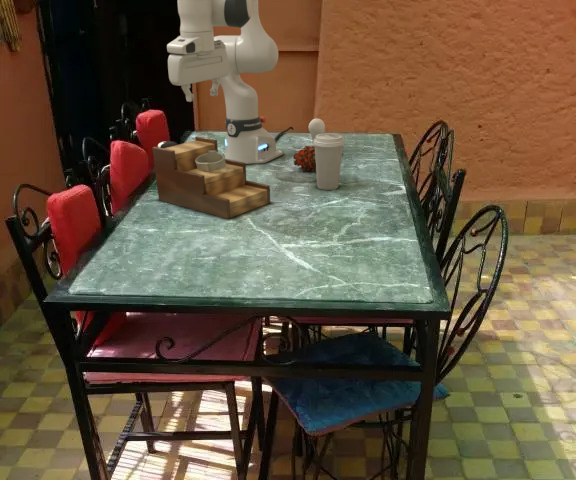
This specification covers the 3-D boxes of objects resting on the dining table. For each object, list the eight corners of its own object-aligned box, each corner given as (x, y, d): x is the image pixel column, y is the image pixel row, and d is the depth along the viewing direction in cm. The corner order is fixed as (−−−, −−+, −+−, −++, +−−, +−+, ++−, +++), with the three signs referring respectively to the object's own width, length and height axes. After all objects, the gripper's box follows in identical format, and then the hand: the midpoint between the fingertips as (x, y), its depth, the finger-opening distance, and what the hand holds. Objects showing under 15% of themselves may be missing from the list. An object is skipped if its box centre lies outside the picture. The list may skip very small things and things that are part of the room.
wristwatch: (230, 168, 182) (229, 150, 180) (219, 174, 178) (218, 155, 175) (203, 165, 186) (201, 147, 183) (191, 170, 181) (189, 152, 178)
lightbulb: (316, 147, 242) (316, 116, 236) (327, 149, 238) (328, 118, 232) (304, 149, 239) (305, 118, 232) (316, 152, 235) (316, 121, 229)
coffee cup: (345, 190, 194) (347, 139, 186) (314, 191, 193) (315, 140, 185) (340, 182, 202) (342, 132, 193) (310, 183, 201) (311, 133, 193)
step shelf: (202, 186, 199) (198, 136, 191) (270, 202, 185) (268, 149, 176) (158, 200, 188) (152, 147, 180) (227, 218, 173) (224, 162, 165)
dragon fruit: (322, 178, 211) (295, 177, 218) (333, 159, 213) (306, 158, 220) (310, 160, 204) (283, 160, 212) (322, 139, 206) (294, 140, 214)
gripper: (216, 38, 179) (220, 91, 187) (161, 46, 166) (168, 103, 174) (232, 39, 176) (235, 93, 184) (178, 47, 163) (184, 105, 170)
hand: (202, 98), depth 179 cm, fingers open, 8 cm apart
